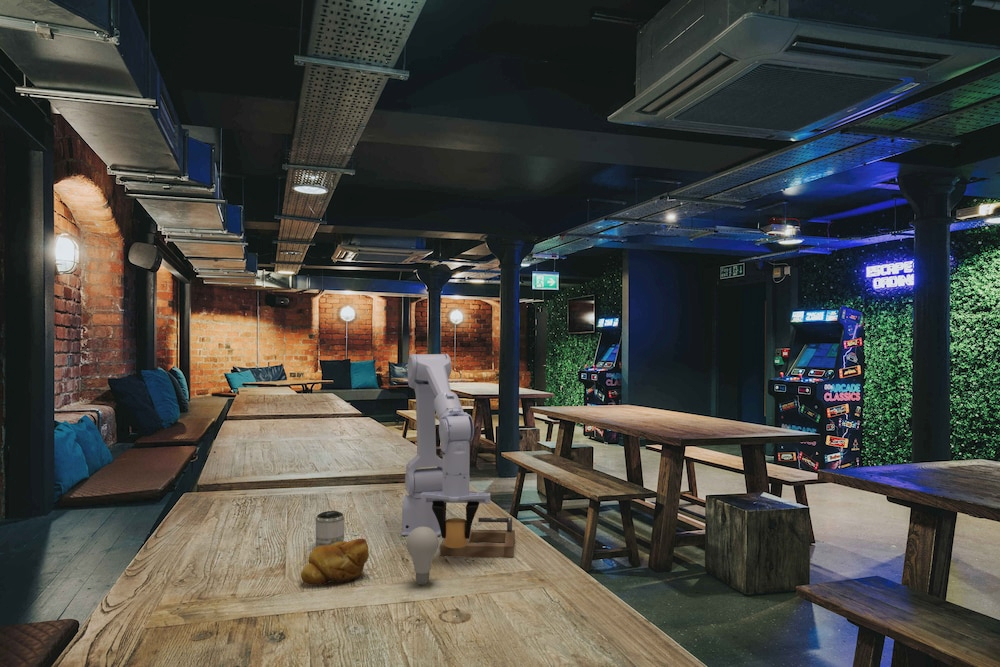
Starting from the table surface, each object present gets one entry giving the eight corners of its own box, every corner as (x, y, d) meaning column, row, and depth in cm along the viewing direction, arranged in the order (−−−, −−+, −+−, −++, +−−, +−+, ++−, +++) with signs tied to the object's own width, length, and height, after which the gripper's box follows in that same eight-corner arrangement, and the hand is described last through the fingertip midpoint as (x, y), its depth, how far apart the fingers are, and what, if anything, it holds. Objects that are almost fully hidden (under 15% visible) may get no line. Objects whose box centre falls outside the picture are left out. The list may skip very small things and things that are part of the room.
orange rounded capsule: (444, 548, 128) (444, 523, 128) (446, 541, 133) (446, 517, 133) (465, 548, 128) (465, 524, 128) (467, 541, 133) (467, 518, 133)
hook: (478, 542, 145) (478, 518, 145) (478, 540, 146) (478, 517, 146) (512, 542, 144) (512, 518, 144) (512, 540, 145) (512, 517, 145)
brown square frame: (439, 556, 135) (439, 545, 135) (447, 539, 147) (447, 529, 147) (513, 557, 134) (513, 546, 134) (514, 540, 146) (514, 530, 146)
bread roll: (305, 593, 115) (306, 550, 115) (294, 577, 123) (294, 536, 123) (372, 580, 121) (372, 539, 121) (357, 565, 129) (357, 526, 130)
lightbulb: (443, 580, 121) (443, 524, 121) (430, 592, 115) (430, 533, 115) (415, 577, 123) (415, 521, 123) (400, 588, 117) (400, 529, 117)
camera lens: (349, 547, 141) (349, 512, 141) (325, 554, 136) (325, 518, 137) (334, 541, 145) (334, 507, 145) (310, 547, 141) (310, 513, 141)
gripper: (418, 476, 127) (418, 542, 127) (488, 477, 126) (488, 543, 126) (424, 469, 134) (424, 532, 134) (491, 469, 133) (491, 533, 133)
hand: (455, 537), depth 131 cm, fingers closed on orange rounded capsule, 4 cm apart
